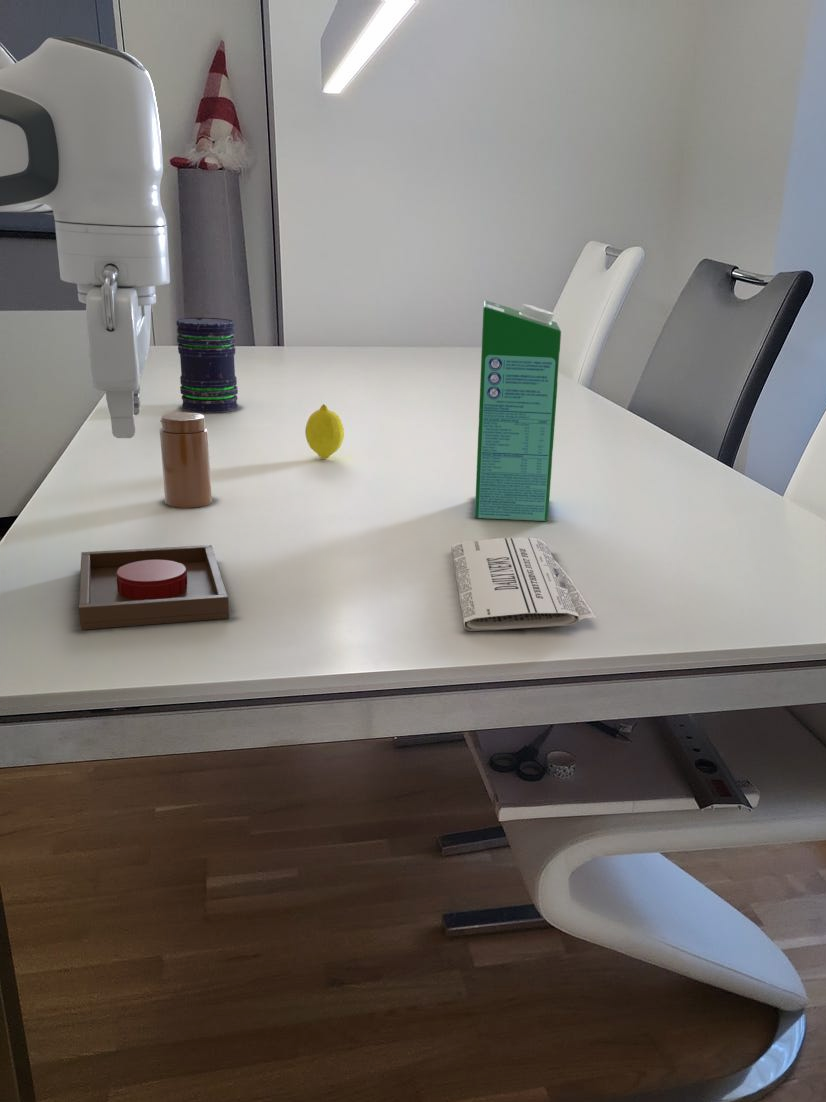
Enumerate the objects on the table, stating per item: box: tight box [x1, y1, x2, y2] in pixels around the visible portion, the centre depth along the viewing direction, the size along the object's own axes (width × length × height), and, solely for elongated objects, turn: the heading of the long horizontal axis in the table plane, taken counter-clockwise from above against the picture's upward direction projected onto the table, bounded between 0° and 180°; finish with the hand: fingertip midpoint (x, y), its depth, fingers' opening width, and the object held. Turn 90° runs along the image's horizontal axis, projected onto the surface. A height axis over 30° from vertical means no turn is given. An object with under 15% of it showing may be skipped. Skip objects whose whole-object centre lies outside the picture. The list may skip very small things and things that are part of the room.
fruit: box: [304, 403, 345, 460], centre depth 151 cm, size 6×6×8 cm
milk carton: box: [474, 299, 562, 522], centre depth 126 cm, size 9×9×25 cm
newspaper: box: [450, 537, 597, 632], centre depth 104 cm, size 23×12×2 cm, turn 4°
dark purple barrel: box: [175, 317, 239, 414], centre depth 181 cm, size 10×10×15 cm
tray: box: [78, 544, 230, 631], centre depth 98 cm, size 16×13×2 cm
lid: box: [117, 560, 187, 600], centre depth 98 cm, size 6×6×2 cm
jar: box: [159, 411, 213, 509], centre depth 126 cm, size 6×6×11 cm
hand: (127, 424), depth 92 cm, fingers open, 8 cm apart
